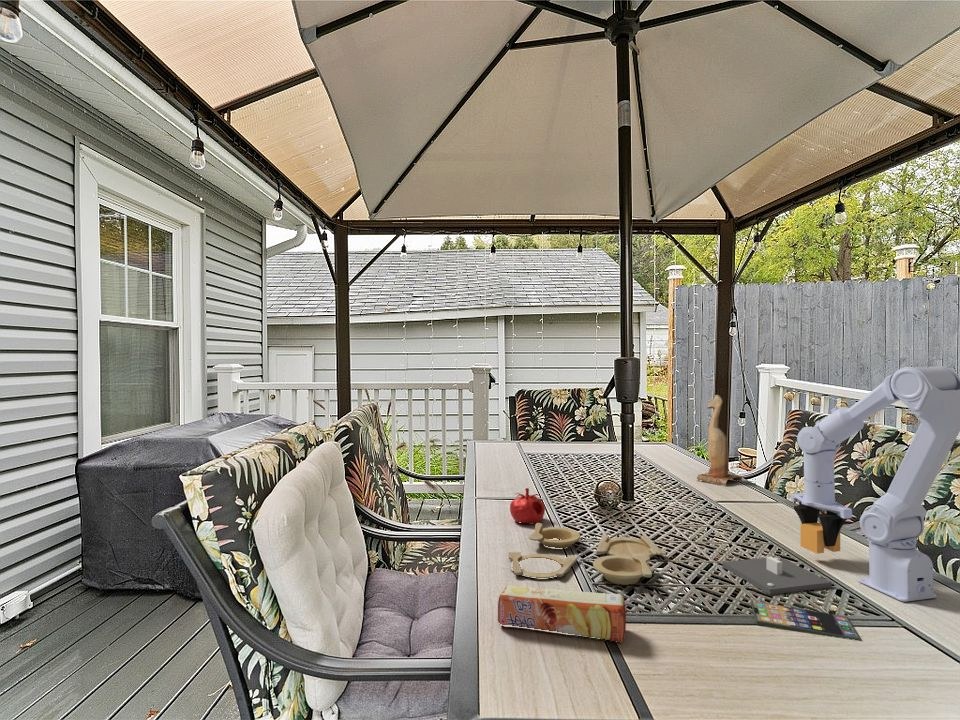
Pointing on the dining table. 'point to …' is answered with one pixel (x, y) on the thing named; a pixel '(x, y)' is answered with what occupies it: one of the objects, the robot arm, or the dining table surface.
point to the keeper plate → (776, 575)
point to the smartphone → (803, 620)
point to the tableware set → (616, 568)
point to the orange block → (816, 538)
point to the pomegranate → (527, 508)
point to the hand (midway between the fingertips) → (820, 541)
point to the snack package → (564, 611)
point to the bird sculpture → (717, 449)
